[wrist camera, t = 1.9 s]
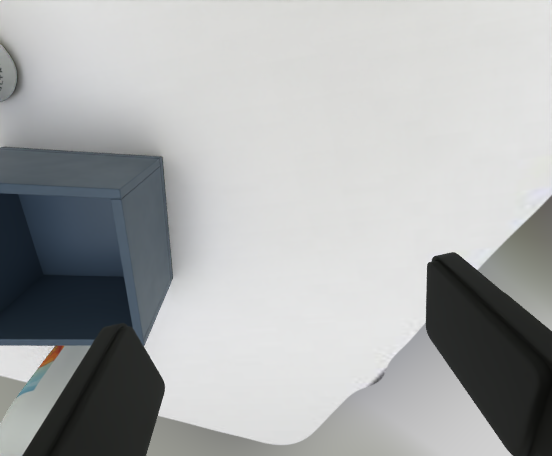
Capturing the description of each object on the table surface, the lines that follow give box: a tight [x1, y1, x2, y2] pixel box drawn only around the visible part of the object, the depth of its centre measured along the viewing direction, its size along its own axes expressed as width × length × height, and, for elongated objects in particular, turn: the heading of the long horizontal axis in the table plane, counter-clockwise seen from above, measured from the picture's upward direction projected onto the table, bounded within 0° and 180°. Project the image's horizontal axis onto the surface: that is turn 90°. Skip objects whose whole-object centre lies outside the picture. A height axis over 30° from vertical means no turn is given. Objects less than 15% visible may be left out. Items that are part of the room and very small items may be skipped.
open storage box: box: [0, 147, 173, 346], centre depth 29 cm, size 16×16×11 cm
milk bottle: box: [0, 346, 91, 456], centre depth 32 cm, size 8×8×20 cm
